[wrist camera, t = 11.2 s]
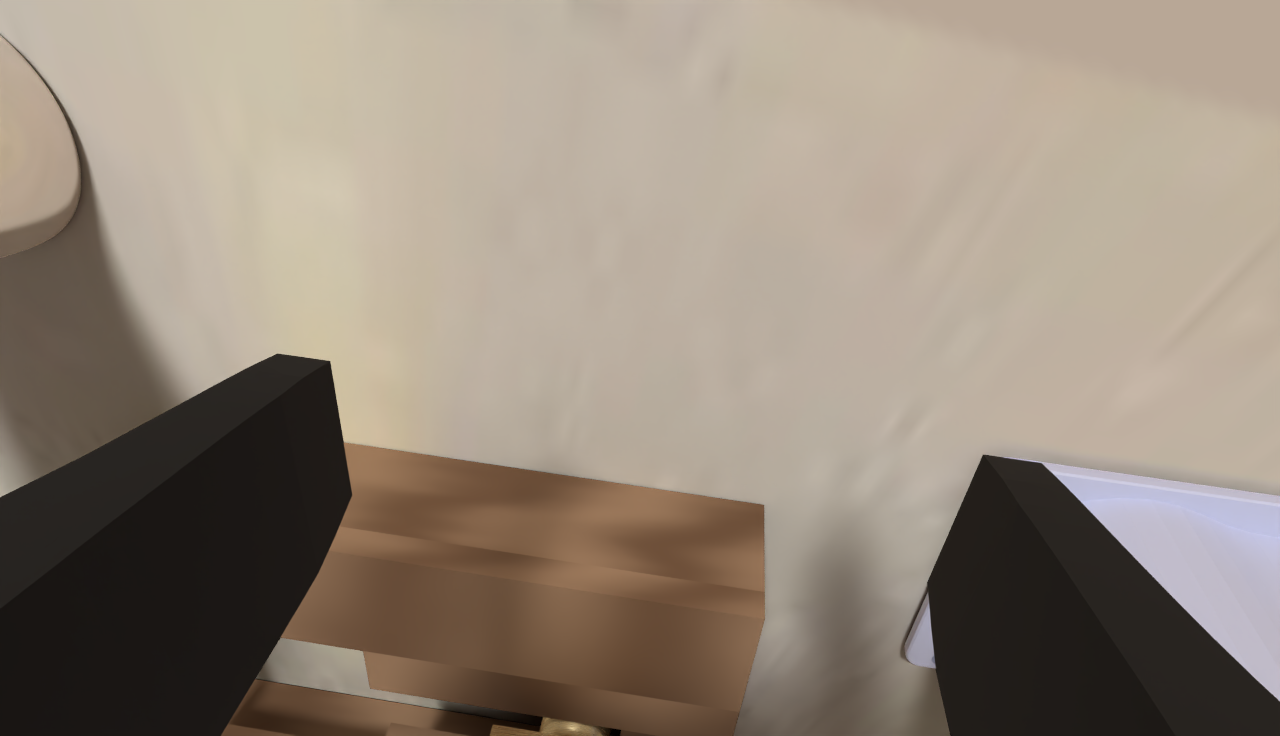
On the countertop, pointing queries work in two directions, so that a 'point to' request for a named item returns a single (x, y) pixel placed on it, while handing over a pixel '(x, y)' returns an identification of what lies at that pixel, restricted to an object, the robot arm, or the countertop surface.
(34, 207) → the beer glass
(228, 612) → the robot arm
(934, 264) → the countertop surface
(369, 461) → the keyhole board
